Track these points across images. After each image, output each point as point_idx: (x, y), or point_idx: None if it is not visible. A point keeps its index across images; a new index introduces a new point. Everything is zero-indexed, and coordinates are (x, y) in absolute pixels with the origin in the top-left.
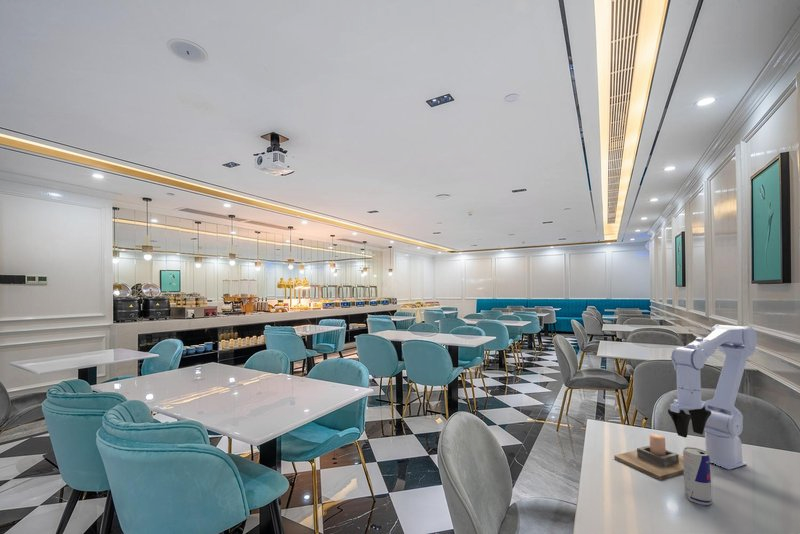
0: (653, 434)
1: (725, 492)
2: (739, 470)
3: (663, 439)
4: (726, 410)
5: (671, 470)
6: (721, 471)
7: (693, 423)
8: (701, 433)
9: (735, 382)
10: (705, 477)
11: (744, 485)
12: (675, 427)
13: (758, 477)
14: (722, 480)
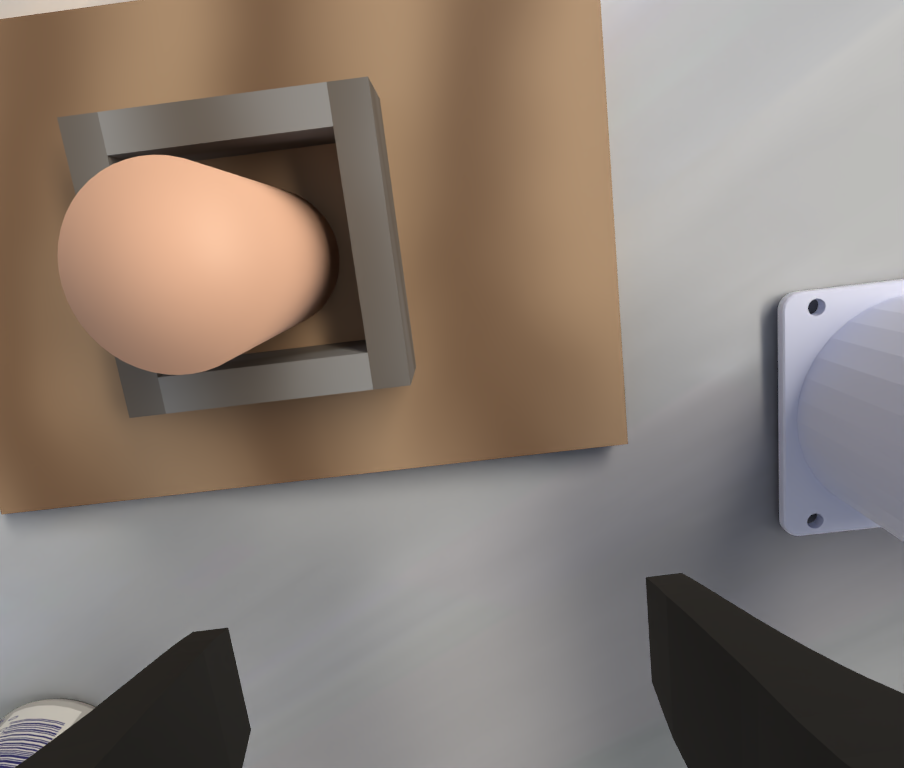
0: (179, 182)
1: (355, 738)
2: (865, 548)
3: (182, 373)
4: None
5: (199, 461)
6: (692, 523)
7: (720, 671)
8: (660, 697)
9: None
10: None
11: (604, 710)
12: (109, 697)
13: (862, 660)
14: (526, 624)
